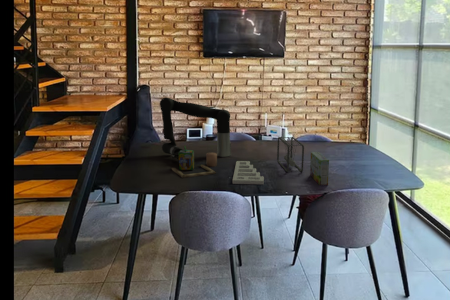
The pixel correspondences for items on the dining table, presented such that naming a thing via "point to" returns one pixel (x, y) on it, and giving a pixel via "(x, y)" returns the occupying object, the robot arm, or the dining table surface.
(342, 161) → the dining table surface
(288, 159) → the newton's cradle
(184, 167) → the chalk box
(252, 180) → the holder
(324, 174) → the snack box
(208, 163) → the wooden block
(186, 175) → the tan flat bent strip
